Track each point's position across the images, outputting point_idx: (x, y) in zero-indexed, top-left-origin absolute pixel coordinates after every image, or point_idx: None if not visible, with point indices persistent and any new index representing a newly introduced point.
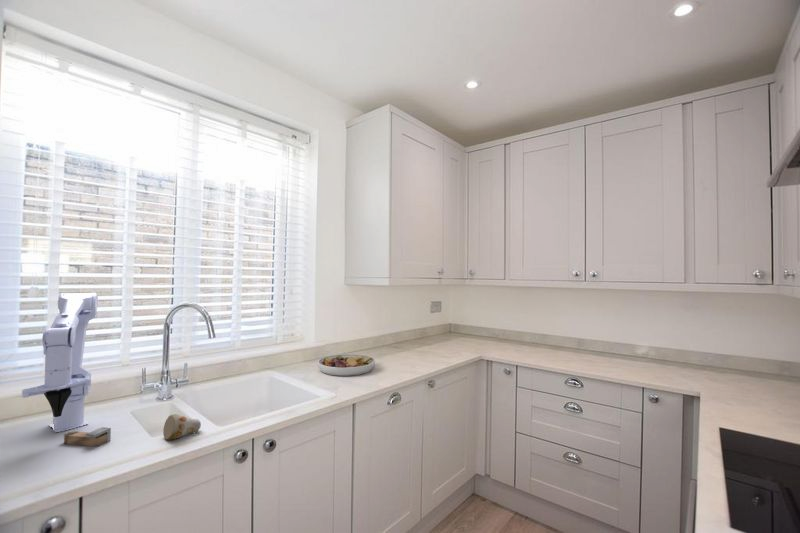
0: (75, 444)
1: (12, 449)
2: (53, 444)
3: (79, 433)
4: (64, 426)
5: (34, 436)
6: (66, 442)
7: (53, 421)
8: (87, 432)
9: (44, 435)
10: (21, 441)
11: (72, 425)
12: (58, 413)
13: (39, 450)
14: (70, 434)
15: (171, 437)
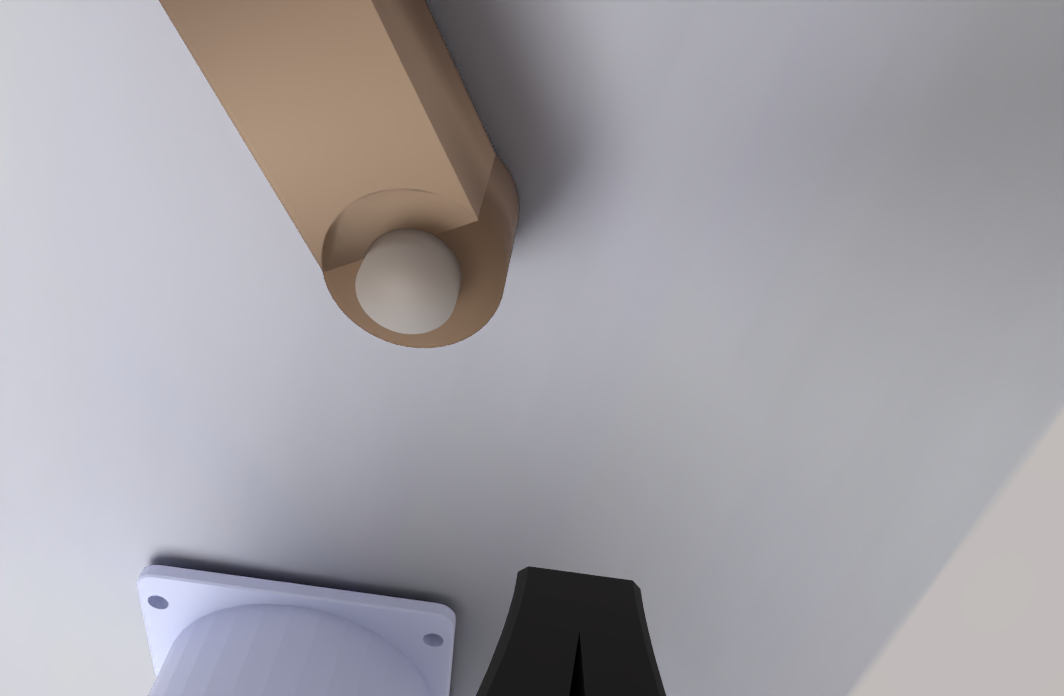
0: (430, 15)
1: (899, 552)
2: (600, 327)
3: (320, 151)
4: (362, 652)
5: None
6: (502, 179)
7: None
8: (208, 71)
9: None
10: (739, 667)
11: (289, 624)
12: (576, 631)
13: (786, 275)
14: (433, 232)
15: None
